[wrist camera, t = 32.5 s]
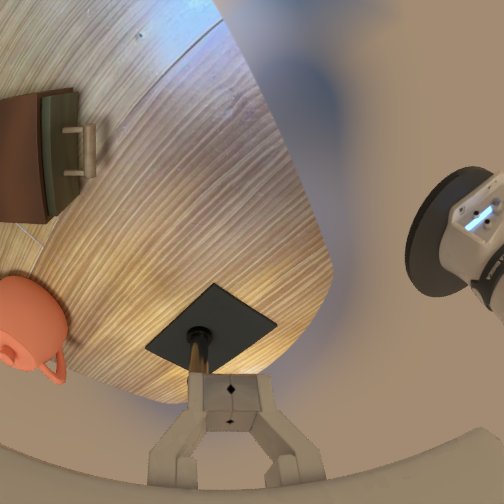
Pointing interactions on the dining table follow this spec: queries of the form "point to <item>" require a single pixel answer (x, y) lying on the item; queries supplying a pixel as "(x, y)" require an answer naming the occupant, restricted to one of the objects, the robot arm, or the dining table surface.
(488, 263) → the robot arm
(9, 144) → the cabinet
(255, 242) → the dining table surface
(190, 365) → the domed metal post
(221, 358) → the mat
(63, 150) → the drawer
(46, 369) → the teapot
